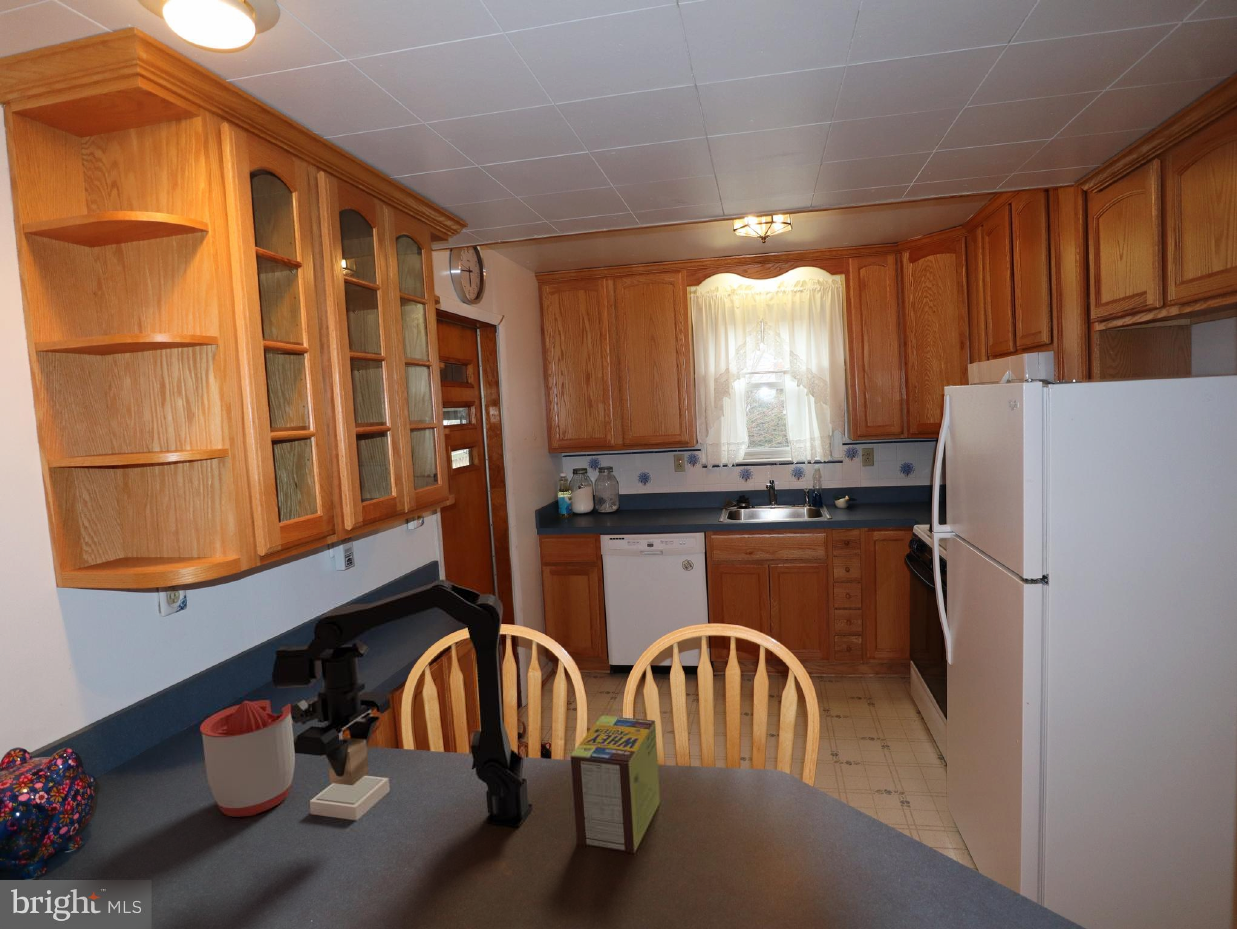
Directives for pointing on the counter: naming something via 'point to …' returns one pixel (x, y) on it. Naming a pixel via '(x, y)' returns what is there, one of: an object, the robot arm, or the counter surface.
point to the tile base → (350, 798)
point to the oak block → (352, 763)
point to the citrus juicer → (249, 757)
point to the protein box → (615, 783)
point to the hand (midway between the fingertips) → (349, 768)
